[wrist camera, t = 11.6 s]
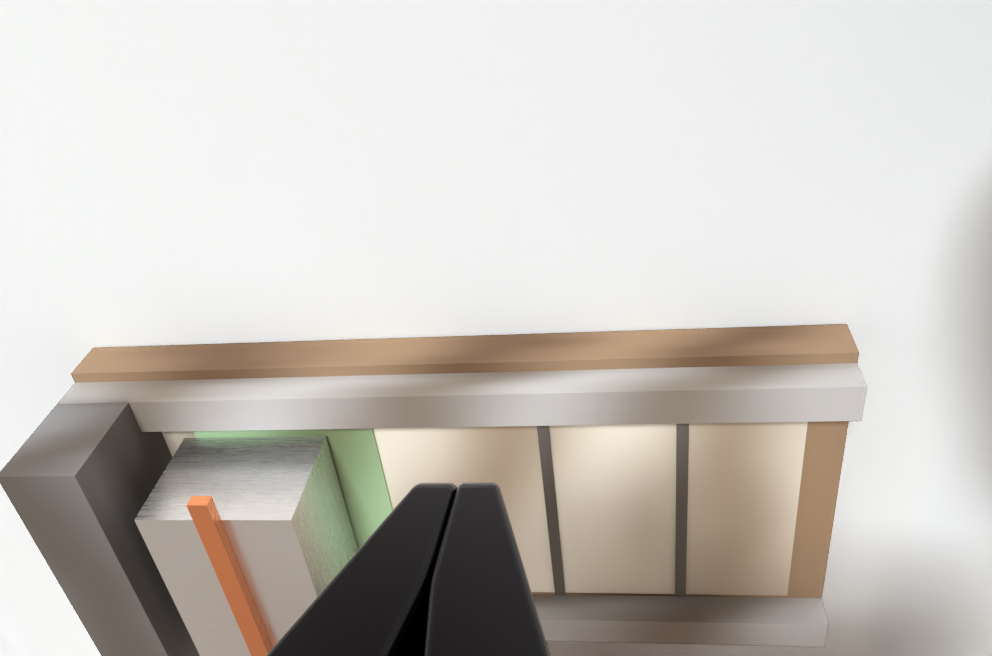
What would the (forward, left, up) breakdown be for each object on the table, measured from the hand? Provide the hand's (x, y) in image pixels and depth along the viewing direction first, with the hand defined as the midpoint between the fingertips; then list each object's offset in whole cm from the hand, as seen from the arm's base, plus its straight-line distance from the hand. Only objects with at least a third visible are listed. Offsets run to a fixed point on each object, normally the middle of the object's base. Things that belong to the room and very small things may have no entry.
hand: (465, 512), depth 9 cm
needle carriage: (+8, +11, -10) cm, 17 cm away
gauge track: (+3, +11, -12) cm, 17 cm away
